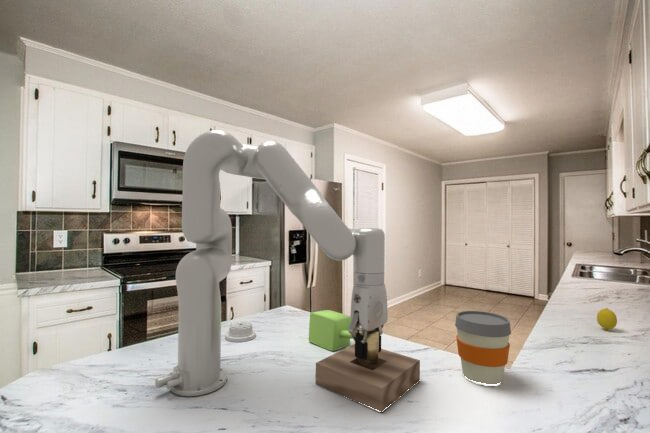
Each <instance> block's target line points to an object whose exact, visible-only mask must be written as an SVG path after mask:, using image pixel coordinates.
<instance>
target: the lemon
mask: <svg viewBox="0 0 650 433" xmlns="http://www.w3.org/2000/svg"><path fill="white" fill-rule="evenodd" d="M617 318H618V317H617V315H616V314H615V312H614V311H613V310H611V309H609V308H608V307H605V308H603V309H602V308H601V309H600V310H599V311H598V312H597V315H596V321H597V322H596V323H597V324H598V325H599V326H600V327H601V328H603V329H604V330H605V329H606V330H605V331H609V330H612V329H614V328H616V326H617V324H618V319H617Z"/></svg>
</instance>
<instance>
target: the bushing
mask: <svg viewBox="0 0 650 433" xmlns="http://www.w3.org/2000/svg"><path fill="white" fill-rule="evenodd" d="M359 333H360V334H361V335H362V333H363V331H361V330H359ZM366 342H367V360H363V359H360V358H358V362H359V363H361V364H364V365H375V364H377V363H378V362H379V331H378V330H376V329H373V330H371V331H367V337H366Z"/></svg>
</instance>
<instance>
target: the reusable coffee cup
mask: <svg viewBox="0 0 650 433" xmlns="http://www.w3.org/2000/svg"><path fill="white" fill-rule="evenodd" d="M510 321H511V320H510V319H509V318H507V317H506V316H504V315H501V314H498V313H493V312H487V311H483V310H481V311H480V310H463V311H459V312H457V313H456V317H455V325H454V326H455V328H456V332H457V335H456V337H455V338H456V346H457V352H458V357H460V363H461V371H462V375H463V374H464V376H466V377H467V378H468V379H470V380H473V381H476V382H481V383H486V384H497V383H500V382H502V381H503V382H504V374H505V369H506V368H505V366H506V365H507V364H508V362H509V361H508V360H509V354H510V346H511V344H510V342H509V339H510V335H512V329H511V322H510ZM464 376H463V377H464ZM503 382H502V383H503Z"/></svg>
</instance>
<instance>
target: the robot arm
mask: <svg viewBox="0 0 650 433" xmlns="http://www.w3.org/2000/svg"><path fill="white" fill-rule="evenodd" d="M221 171H222V172H224V173H226V174H231V175H233V176H234V175H235V176H240V177H246V178H248V177H249V178H253V179H259V180H260V179H261V180H265V181H266V183H267V184H268V185H269V186H270V187H271V189H272V190H273V191H274V192H275V193H276V195H277V197H279V198H280V200H281V201H282V202H283V203H284V205H285V207H287V209H288V210H289V212H290V213H291V214H292V215H294V217H295V218H296V219H297V221H299V223H301V224H302V226H303V227H304V229H305V230H306V231H307V233H308V234H309V235H310V236H311V237H312V238H313V240H314V241H315V243H316V244H317V245H318V247H320V249H321V250H322V251H323V253H324V254H325V255H326V256H327V257H328V258H330V259H331V260H334V261H338V262H339V261H340V262H341V261H346V260H347V259H349V258H350V257H351V256H353V260H352V262H353V264H352V265H353V267H352V268H353V269H352V270H353V272H352V277H353V281H352V283H353V286H352V291H351V299H350V315H349V316H350V319H351V324H350V326H349V329H348V332H349V333H350V334H351V335H352V337H353V339H352V340H353V341H354V344H355V357H357V358H360V359H363V360H367V342H366V337H367V331H371V330H373V329H376V330H378V331H379V352H381V349H382V335H383V328H384V325H385V324H387V323H388V320H389V319H388V318H389V317H388V316H389V314H388V312H389V311H388V296H387V289H386V288H387V287H386V284H385V271H386V270H385V256H386V254H385V252H386V250H385V248H386V247H385V246H386V245H385V244H386V241H385V240H386V237H385V231H384V230H383V229H381V228H375V227H360V228H350V227H349V228H348V226H347V225H346V223H344V221H343V220H342V219H341V218H340V216H339V215H338V213H336V210H334V208H332V206H330V204H329V202H328V201H327V200H326V199H325V197H324V195H322V193H321V192H320V190H319V188H317V186H316V185H315V183H313V181H312V180H311V179H310V177H309V176H308V175H307V174H306V172H305V171H304V170H303V169H302V167H301V166H300V165H299V164H298V162H296V160H295V159H294V158H293V156H292V155H291V153H289V151H288V150H287V148H286V147H284V145H282V144H281V143H279V142H277V141H275V140H267V141H264V142H262V143H260V144H259V145H258V146H253V145H248V144H243V143H241V142H240V141H239V140H238V139H237V138H236V137H235V136H234V135H232V134H231V133H229V132H227V131H225V130H221V129H212V130H207V131H206V132H203V133H201V134H200V135H198V136H197V137H196V138H194V139H193V141H192V142H190V144H189V146H188V147H187V149H186V150H185V153H184V157H183V164H182V195H181V196H182V199H181V202H182V203H181V204H182V206H181V230H182V231H181V232H182V234H183V236H184V238H185V239H186V240H187V241H188V242H191V243H192V244H195V250H193V251H191V252H189V253H187V254H185V255H184V256H183V257H182V258H181V259H180V260H179V262H178V264H177V267H176V269H175V284H176V290H177V299H178V300H177V301H178V302H177V303H178V317H177V318H178V325H177V326H178V329H177V330H178V332H177V334H178V336H177V337H178V339H177V340H178V341H177V365H176V366H173V370H172V372H170V373H169V375H168V374H167V375H164V376H161V377H159V378H158V377H157V378H156V379H155V380H154V382H155V387H156V389H159V388H163V387H164V386H166V387H165V388H166V389H170V390H171V392H172V393H174V394H175V395H177V396H182V397H196V396H197V397H198V396H202V395H203V396H204V395H207V394H209V393H210V394H211V393H212V392H215V391H217V390H219V389H220V388H222V387H223V386H224V385H225V383H227V380H228V373H227V371H226V370H225V369H223V368H221V363H222V362H221V360H222V358H221V356H222V355H221V350H222V347H221V346H222V299H221V290H220V282H222V281H223V280H224V279H225V278H226V277H227V276H228V275H229V274H230V271H231V268H232V257H233V251H232V250H233V245H232V244H233V228H232V226H233V225H232V220H231V218H230V216H229V214H228V213H227V212H226V211H225V210H224V209H222V208H221V182H220V173H221ZM360 326H361V327H360ZM359 330H361V331H363V333H362V335H361V334H360V333H359Z"/></svg>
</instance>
